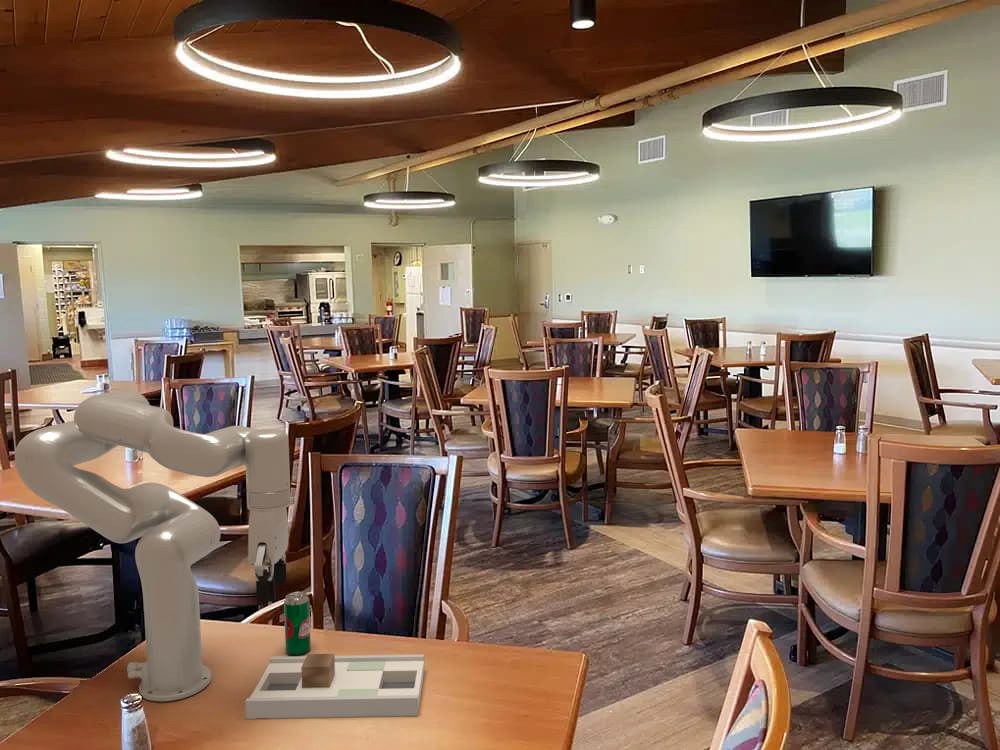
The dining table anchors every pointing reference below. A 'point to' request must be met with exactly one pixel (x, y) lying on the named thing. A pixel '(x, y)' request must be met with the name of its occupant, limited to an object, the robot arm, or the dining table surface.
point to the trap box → (341, 688)
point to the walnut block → (318, 671)
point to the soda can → (297, 623)
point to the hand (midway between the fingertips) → (272, 592)
